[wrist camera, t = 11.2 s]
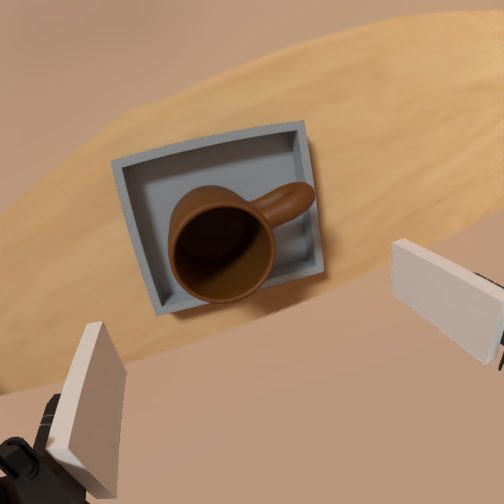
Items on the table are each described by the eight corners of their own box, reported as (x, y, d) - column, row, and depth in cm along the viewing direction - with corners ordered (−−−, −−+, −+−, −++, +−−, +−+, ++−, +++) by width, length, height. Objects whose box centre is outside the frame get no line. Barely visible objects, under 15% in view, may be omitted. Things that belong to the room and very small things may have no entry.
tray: (157, 301, 32) (156, 316, 29) (117, 159, 27) (110, 161, 24) (312, 261, 34) (324, 271, 32) (292, 122, 29) (303, 120, 26)
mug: (263, 144, 29) (300, 143, 20) (300, 211, 32) (346, 236, 23) (153, 212, 28) (143, 241, 20) (198, 275, 31) (207, 325, 23)
